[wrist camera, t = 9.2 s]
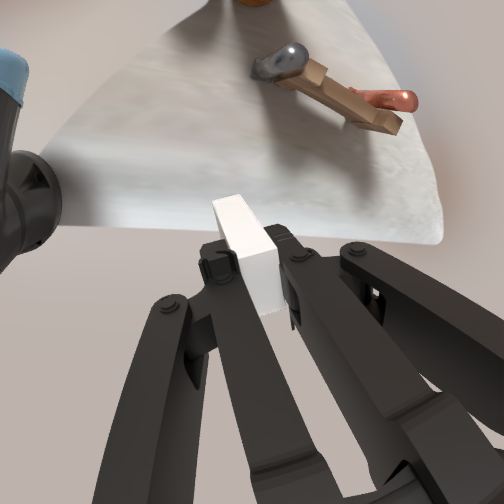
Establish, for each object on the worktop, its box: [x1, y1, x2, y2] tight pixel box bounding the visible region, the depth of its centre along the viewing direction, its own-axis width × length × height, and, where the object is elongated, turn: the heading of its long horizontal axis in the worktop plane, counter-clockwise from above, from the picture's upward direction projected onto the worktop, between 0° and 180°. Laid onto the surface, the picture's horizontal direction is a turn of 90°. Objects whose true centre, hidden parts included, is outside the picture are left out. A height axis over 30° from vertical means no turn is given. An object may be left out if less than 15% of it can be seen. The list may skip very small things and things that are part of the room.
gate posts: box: [250, 43, 418, 113], centre depth 31 cm, size 17×4×13 cm, turn 74°
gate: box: [274, 59, 403, 136], centre depth 33 cm, size 2×13×11 cm, turn 65°
